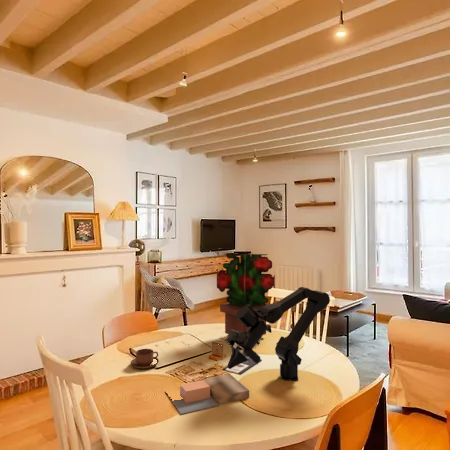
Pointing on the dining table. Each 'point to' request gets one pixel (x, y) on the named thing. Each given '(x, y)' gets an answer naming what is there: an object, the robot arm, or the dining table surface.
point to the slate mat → (194, 405)
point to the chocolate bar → (242, 367)
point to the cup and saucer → (144, 359)
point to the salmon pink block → (194, 391)
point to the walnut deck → (226, 388)
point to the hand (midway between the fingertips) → (228, 368)
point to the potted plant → (244, 286)
